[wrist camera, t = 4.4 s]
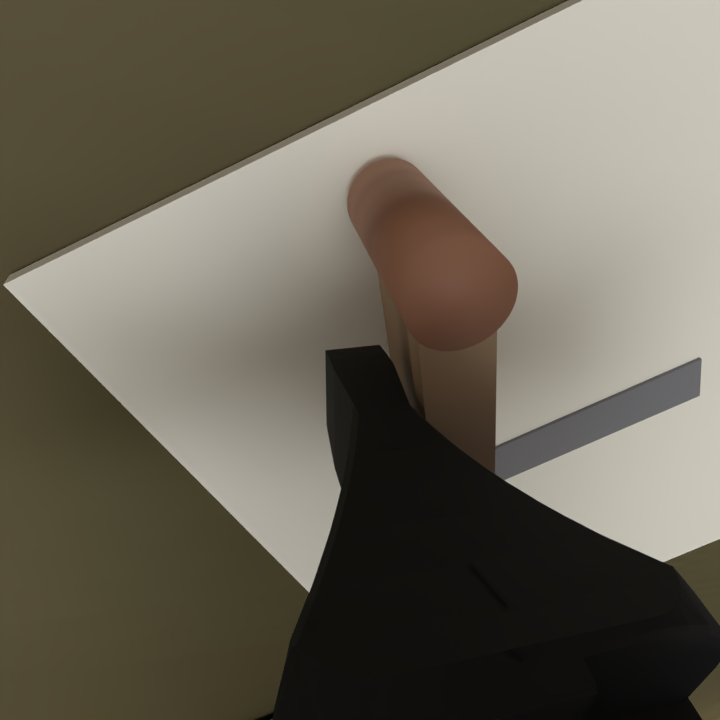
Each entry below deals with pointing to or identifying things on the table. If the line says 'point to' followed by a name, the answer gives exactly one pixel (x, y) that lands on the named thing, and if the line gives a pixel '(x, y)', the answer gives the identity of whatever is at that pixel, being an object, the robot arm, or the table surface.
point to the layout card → (500, 226)
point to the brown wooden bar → (436, 300)
